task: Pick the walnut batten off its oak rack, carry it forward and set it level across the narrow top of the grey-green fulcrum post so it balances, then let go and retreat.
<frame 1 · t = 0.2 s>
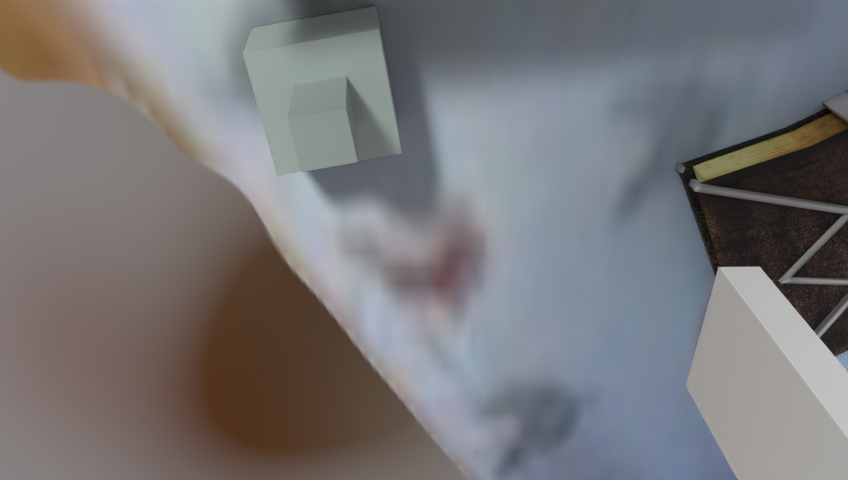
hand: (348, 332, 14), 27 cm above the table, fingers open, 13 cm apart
fulcrum: (327, 76, 39), on the table
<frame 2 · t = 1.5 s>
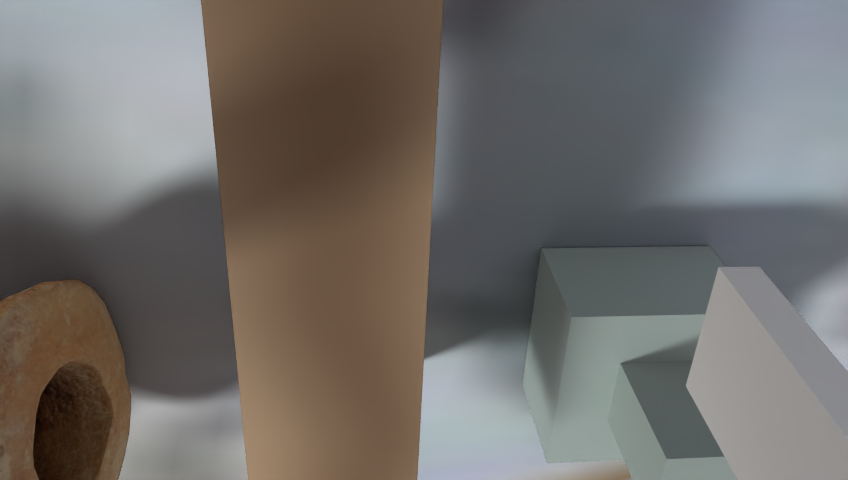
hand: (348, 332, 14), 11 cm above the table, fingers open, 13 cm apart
rod: (330, 180, 19), point 5 cm above the table, touching rack
fulcrum: (612, 317, 28), on the table
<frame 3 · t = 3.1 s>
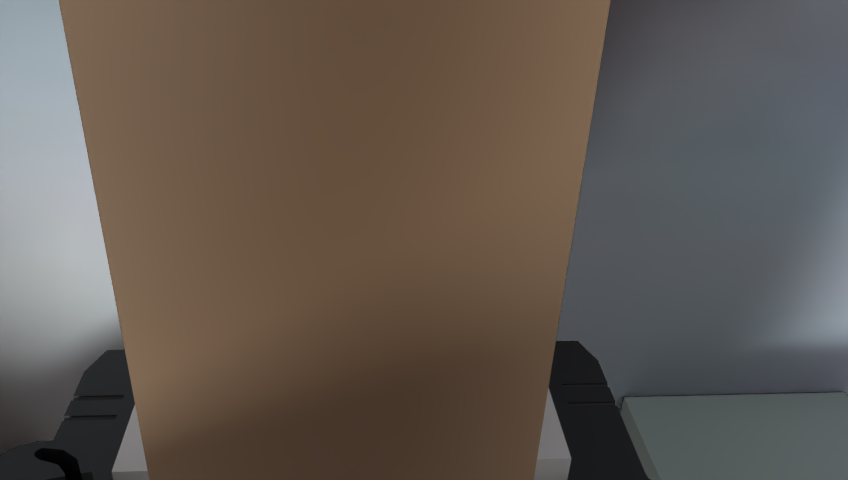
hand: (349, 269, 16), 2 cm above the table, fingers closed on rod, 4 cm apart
rod: (348, 381, 13), point 5 cm above the table, touching gripper, rack
fulcrum: (709, 476, 22), on the table
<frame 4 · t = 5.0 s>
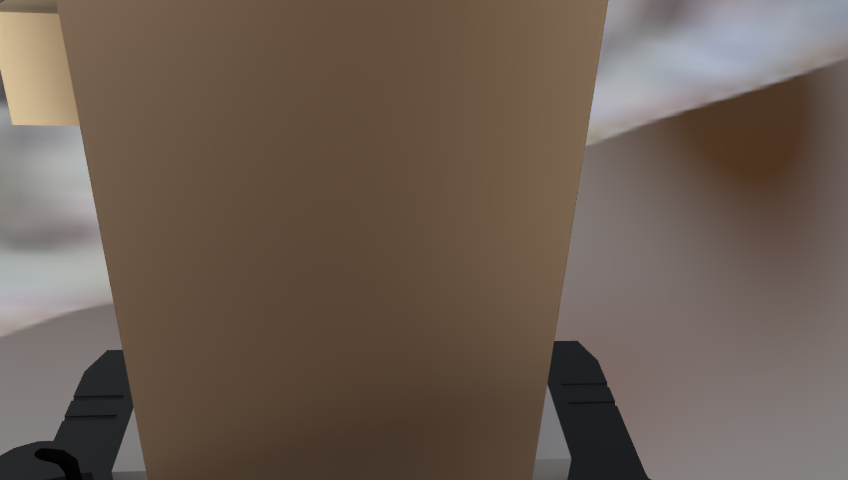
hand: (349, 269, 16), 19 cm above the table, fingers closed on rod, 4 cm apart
rod: (347, 379, 13), point 22 cm above the table, touching gripper
when the fingers open (5 cm above the table, at t = 7.2 s): rod stays where it is, resting on fulcrum.
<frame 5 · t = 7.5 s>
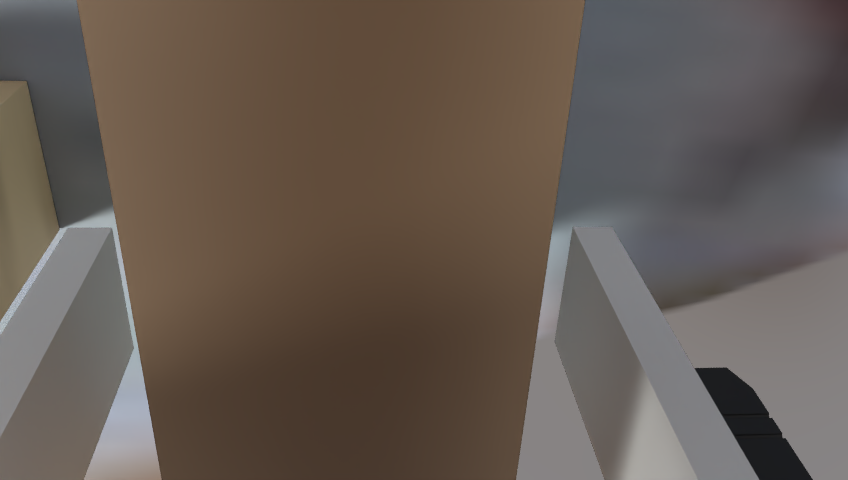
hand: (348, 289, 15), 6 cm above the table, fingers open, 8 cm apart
rod: (346, 359, 13), point 8 cm above the table, touching fulcrum
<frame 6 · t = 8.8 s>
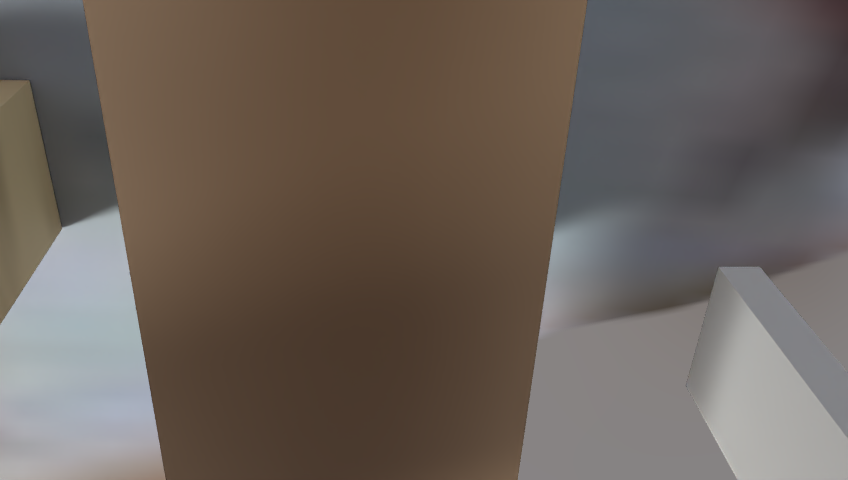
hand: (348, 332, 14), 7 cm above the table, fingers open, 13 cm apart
rod: (348, 358, 13), point 8 cm above the table, touching fulcrum
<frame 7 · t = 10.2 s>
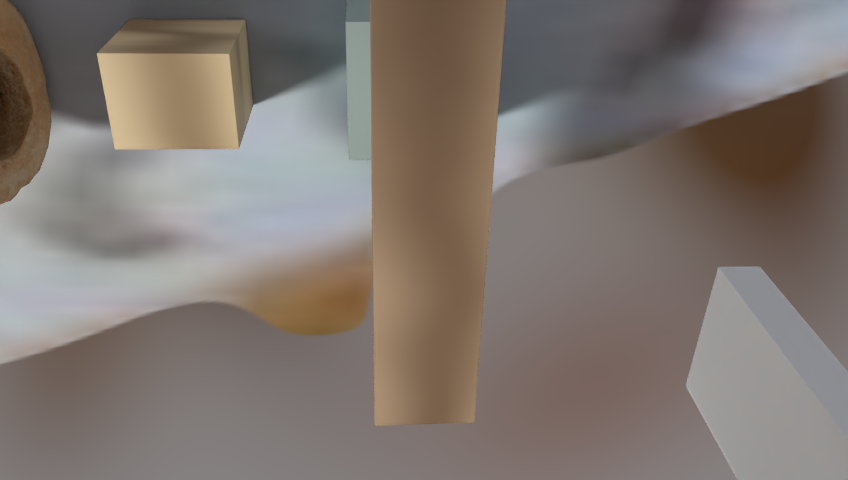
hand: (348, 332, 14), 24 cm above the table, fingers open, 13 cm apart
rod: (424, 130, 29), point 8 cm above the table, touching fulcrum
fulcrum: (413, 64, 36), on the table
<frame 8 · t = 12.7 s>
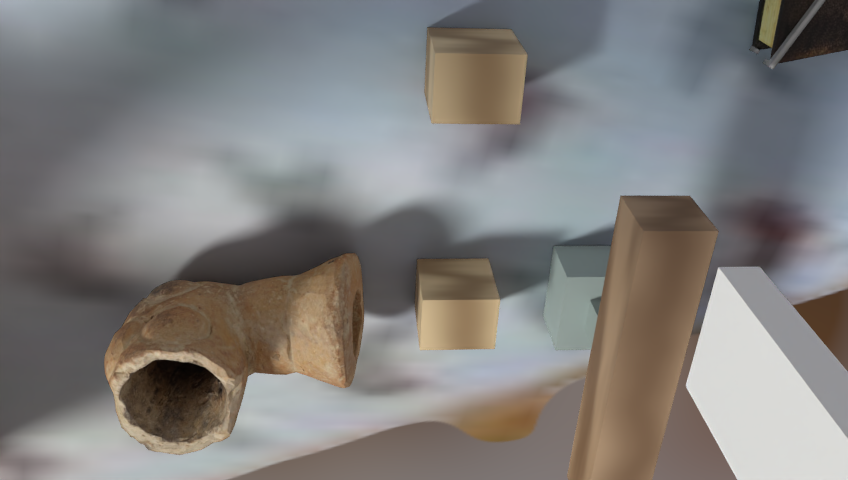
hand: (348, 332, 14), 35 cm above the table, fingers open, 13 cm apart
rod: (621, 351, 49), point 8 cm above the table, touching fulcrum
fulcrum: (589, 281, 56), on the table
pipe: (251, 297, 55), on the table
rack: (458, 180, 51), on the table
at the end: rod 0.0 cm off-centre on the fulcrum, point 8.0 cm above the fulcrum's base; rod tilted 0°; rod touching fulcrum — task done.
